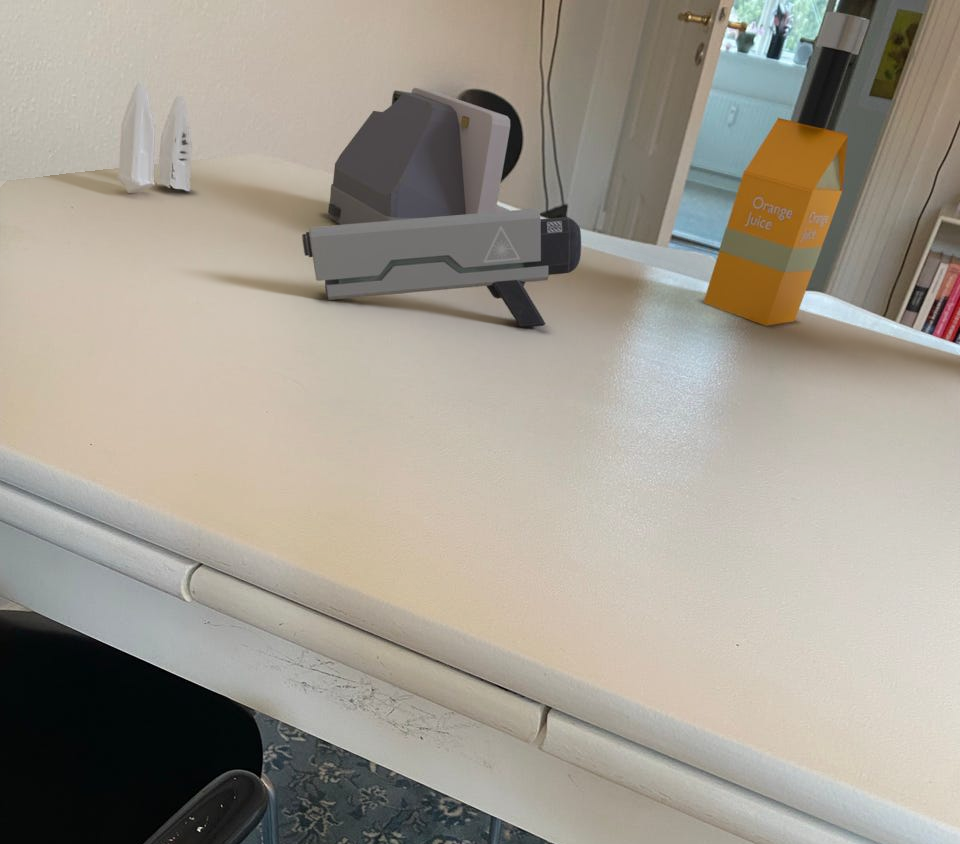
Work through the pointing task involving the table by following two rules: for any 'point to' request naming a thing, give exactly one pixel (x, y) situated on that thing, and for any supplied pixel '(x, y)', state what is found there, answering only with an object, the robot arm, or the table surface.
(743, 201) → the orange juice
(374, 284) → the gun
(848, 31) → the torch
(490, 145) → the instant camera
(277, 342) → the table surface
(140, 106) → the shaker set
